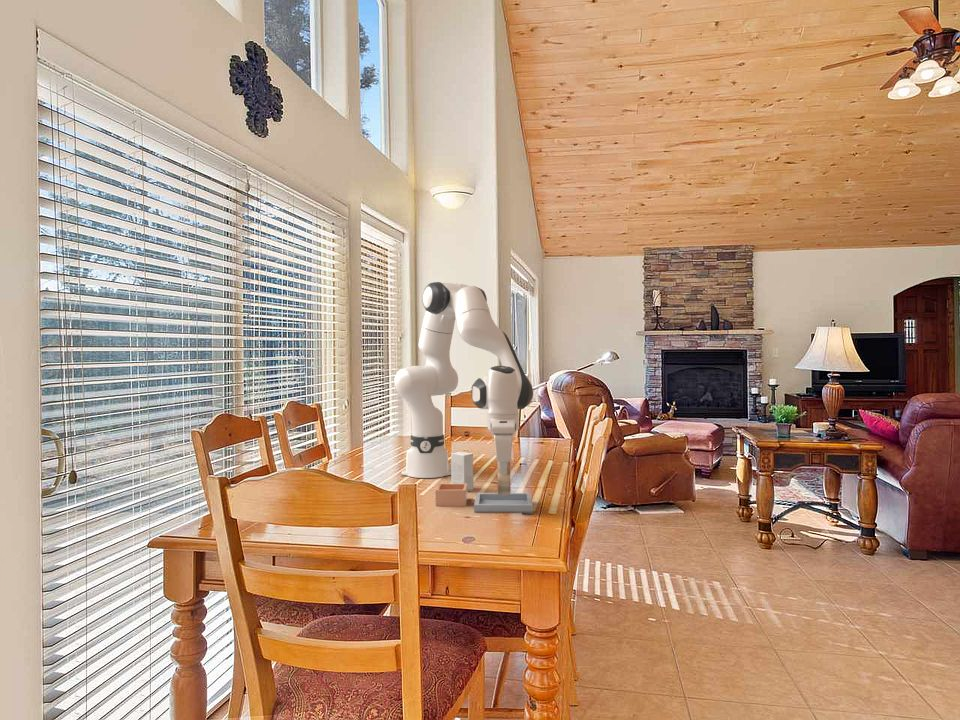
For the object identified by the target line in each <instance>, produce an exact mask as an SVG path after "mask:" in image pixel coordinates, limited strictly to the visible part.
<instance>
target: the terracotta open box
mask: <svg viewBox="0 0 960 720" xmlns="http://www.w3.org/2000/svg"><path fill="white" fill-rule="evenodd" d="M468 497H469V496H468V492H467V484H452V483H438V484H437V486H436V488H435V507H466V506H467V503H468Z"/></svg>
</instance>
